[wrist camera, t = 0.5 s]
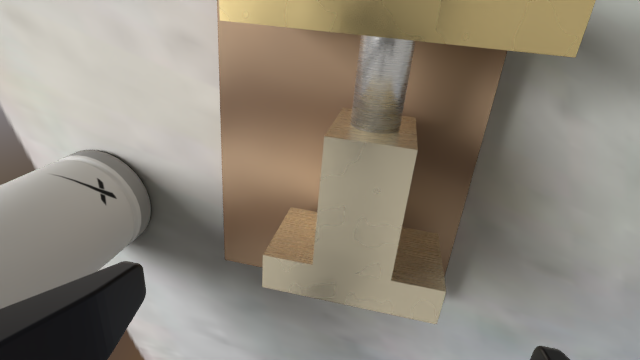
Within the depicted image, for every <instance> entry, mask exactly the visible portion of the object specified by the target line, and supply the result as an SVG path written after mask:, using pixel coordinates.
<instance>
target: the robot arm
mask: <svg viewBox="0 0 640 360" xmlns="http://www.w3.org/2000/svg"><path fill="white" fill-rule="evenodd" d="M145 295H146V287H145V280H144V272H143V267H142V266H141V265H140V264H138V263H133V262H128V261H123V262H120V263H118V264H115V265H113V266H110V267H107V268H105V269H102V270H100V271H97V272H94V273H92V274H89V275H87V276H84V277H82V278H79V279H76V280H74V281H71V282H69V283H66V284H63V285H61V286H58V287H56V288H53V289H50V290H48V291H45V292H43V293H40V294H37V295H35V296H32V297H30V298H27V299H25V300H22V301H19V302H17V303H14V304H12V305H9V306H6V307H4V308H1V309H0V360H107V359H108V358H109V356H110V355H111V353H112V351H113V350H114V348H115V347H116V345H117V344H118V342H119V340H120V339H121V337H122V335H123V334H124V332H125V330H126V329H127V327H128V325H129V324H130V322H131V321H132V319H133V317H134V316H135V314H136V312H137V311H138V309H139V307H140V306H141V304H142V302H143V300H144V298H145ZM530 360H570V359H569V358H568V357H567V356H566V355H565V354H564V353H563V352H561V351H560V350H558V349H554V348H549V347H545V346H537V347H536V348H535V350H534V351H533V354H532V356H531V359H530Z"/></svg>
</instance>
